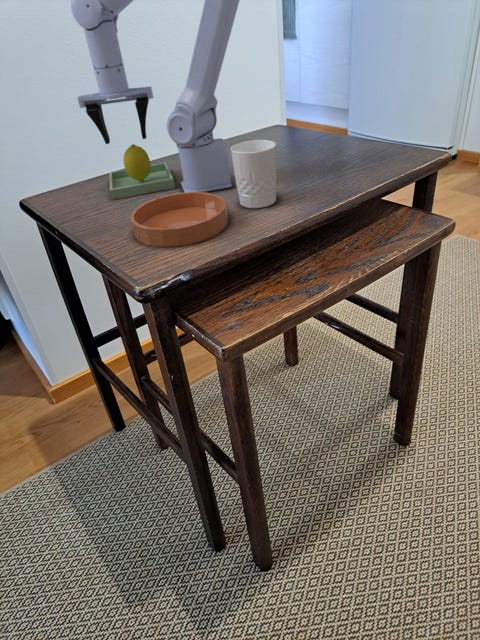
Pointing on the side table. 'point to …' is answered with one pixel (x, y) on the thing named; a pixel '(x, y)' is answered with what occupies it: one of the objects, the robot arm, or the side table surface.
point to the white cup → (255, 172)
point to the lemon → (137, 163)
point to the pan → (179, 219)
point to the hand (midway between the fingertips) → (126, 140)
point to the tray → (128, 186)
